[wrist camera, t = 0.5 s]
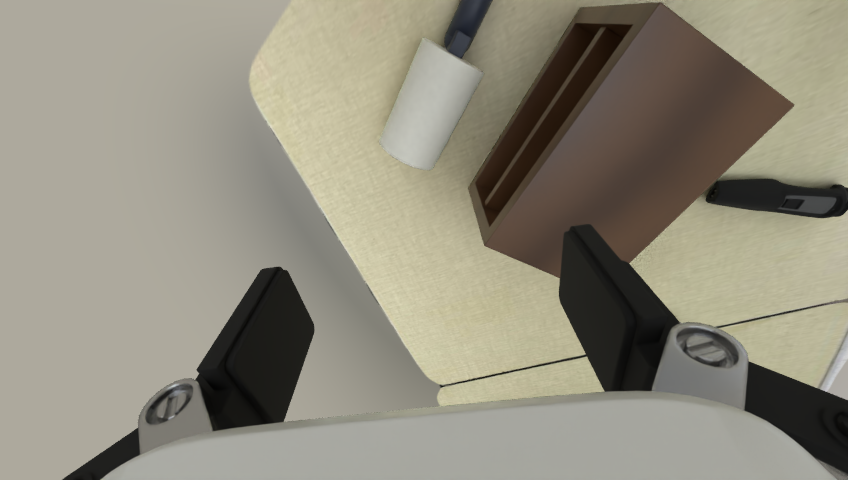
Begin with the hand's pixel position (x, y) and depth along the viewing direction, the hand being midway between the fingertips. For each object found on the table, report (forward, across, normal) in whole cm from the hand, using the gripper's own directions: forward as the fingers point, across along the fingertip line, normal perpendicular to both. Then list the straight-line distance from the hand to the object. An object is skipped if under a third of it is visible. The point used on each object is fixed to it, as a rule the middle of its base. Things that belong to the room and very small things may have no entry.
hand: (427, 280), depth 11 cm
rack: (+24, -14, +5) cm, 28 cm away
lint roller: (+24, -3, -4) cm, 25 cm away
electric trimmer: (+25, -36, +14) cm, 46 cm away
